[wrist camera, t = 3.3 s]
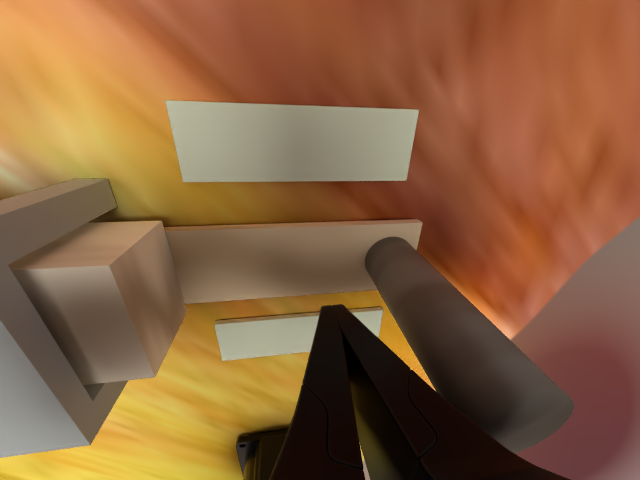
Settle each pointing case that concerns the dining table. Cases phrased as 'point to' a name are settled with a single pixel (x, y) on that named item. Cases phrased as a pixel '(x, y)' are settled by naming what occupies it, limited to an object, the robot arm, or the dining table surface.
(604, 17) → the dining table surface
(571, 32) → the dining table surface
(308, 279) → the sled
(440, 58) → the dining table surface
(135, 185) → the dining table surface
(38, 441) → the tunnel
